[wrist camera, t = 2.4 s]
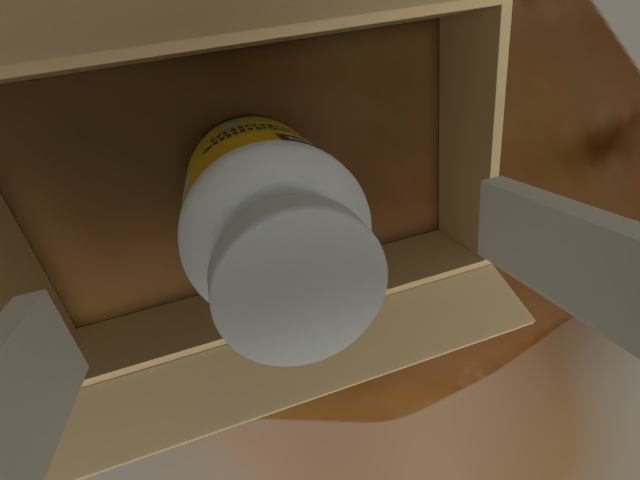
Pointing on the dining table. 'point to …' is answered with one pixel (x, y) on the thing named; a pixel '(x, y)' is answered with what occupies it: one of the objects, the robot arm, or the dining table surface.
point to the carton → (194, 313)
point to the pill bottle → (279, 243)
